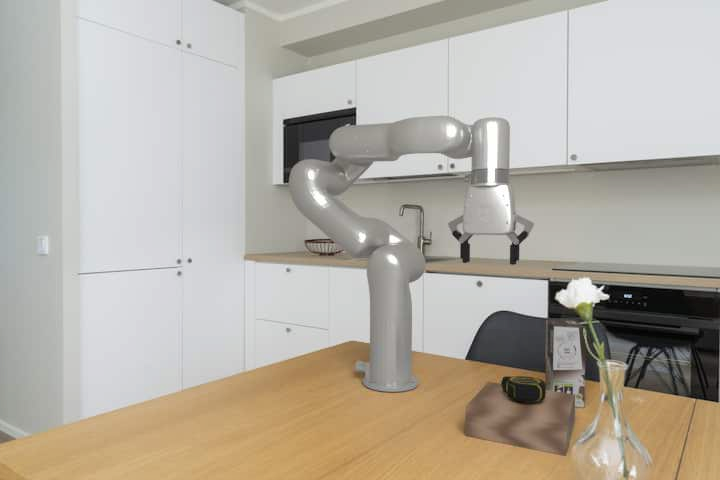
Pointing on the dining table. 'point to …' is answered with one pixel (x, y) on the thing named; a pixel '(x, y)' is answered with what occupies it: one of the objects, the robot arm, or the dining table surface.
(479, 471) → the dining table surface
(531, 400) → the tape measure
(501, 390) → the block
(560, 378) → the coffee box
